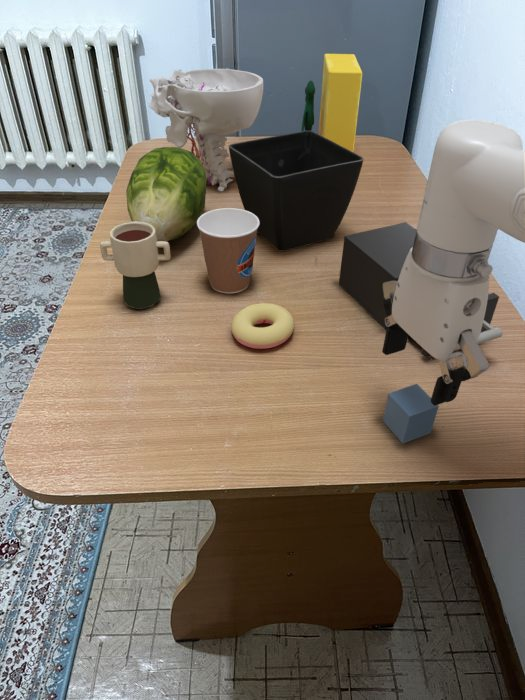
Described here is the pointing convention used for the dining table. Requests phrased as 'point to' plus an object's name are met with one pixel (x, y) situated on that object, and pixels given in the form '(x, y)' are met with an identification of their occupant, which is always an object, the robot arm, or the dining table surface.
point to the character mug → (136, 261)
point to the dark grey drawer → (484, 324)
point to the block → (410, 413)
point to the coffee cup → (228, 247)
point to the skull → (208, 112)
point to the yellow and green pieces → (336, 100)
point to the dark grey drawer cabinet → (374, 264)
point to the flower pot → (295, 186)
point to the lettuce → (167, 191)
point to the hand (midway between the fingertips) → (416, 374)
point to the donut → (267, 335)
